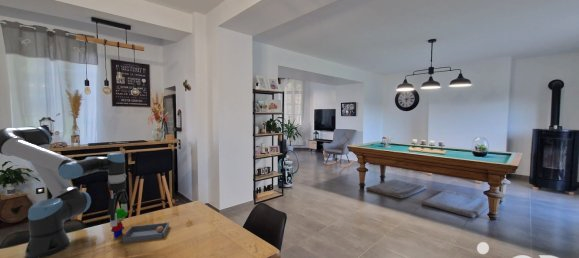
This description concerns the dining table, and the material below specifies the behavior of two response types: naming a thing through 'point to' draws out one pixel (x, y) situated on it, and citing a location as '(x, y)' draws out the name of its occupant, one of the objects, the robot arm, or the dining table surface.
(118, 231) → the toy
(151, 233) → the tray
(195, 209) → the dining table surface
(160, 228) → the ball
